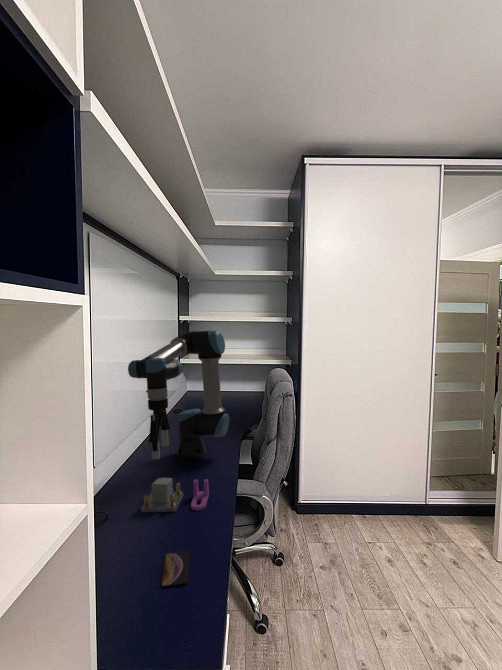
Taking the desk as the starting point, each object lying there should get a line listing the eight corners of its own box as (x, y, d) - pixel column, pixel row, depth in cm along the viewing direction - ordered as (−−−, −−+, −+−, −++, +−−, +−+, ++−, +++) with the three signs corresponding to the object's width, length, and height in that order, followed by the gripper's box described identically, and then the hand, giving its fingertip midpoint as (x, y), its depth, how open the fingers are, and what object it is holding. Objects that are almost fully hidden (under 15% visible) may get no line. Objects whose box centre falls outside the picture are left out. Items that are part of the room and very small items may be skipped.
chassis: (151, 495, 158) (150, 482, 157) (183, 495, 157) (182, 481, 157) (141, 512, 145) (140, 497, 144) (175, 511, 144) (175, 497, 144)
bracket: (195, 494, 157) (194, 478, 157) (208, 494, 157) (208, 477, 157) (189, 511, 144) (189, 492, 144) (204, 510, 144) (204, 492, 144)
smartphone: (159, 587, 103) (164, 553, 118) (159, 590, 104) (165, 555, 118) (187, 583, 104) (189, 550, 119) (188, 586, 104) (189, 552, 119)
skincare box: (167, 503, 147) (166, 484, 147) (152, 502, 149) (151, 483, 148) (173, 496, 153) (172, 477, 153) (159, 495, 155) (158, 477, 154)
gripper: (156, 391, 162) (159, 441, 164) (137, 406, 137) (141, 465, 139) (174, 391, 162) (177, 440, 163) (158, 406, 137) (162, 464, 139)
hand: (160, 452), depth 151 cm, fingers open, 13 cm apart
